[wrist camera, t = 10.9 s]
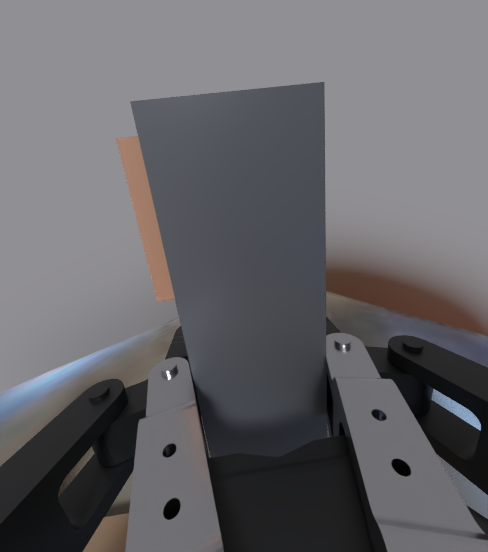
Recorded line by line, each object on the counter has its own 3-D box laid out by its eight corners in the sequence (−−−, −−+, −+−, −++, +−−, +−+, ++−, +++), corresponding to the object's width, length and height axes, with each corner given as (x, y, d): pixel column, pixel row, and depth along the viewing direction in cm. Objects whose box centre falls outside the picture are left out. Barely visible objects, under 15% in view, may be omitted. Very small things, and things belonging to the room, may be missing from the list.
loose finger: (298, 444, 13) (279, 136, 9) (327, 539, 10) (323, 82, 5) (220, 458, 13) (156, 150, 8) (219, 560, 9) (99, 104, 5)
